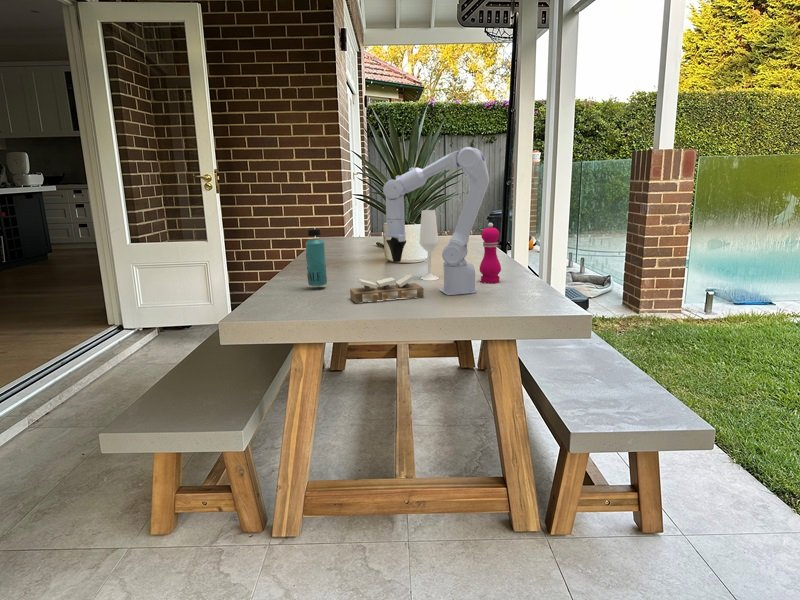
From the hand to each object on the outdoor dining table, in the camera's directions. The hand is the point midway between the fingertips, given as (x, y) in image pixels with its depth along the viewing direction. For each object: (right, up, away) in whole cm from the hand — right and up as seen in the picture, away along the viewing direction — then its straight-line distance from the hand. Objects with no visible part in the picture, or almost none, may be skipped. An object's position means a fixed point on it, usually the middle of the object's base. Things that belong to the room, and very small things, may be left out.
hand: (396, 261), depth 176 cm
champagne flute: (+12, -5, +20) cm, 24 cm away
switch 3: (+3, -7, -7) cm, 10 cm away
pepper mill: (+32, -6, +12) cm, 34 cm away
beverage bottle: (-27, -9, +9) cm, 29 cm away
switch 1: (-9, -8, -10) cm, 16 cm away
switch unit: (-3, -12, -8) cm, 14 cm away
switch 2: (-3, -7, -9) cm, 12 cm away
